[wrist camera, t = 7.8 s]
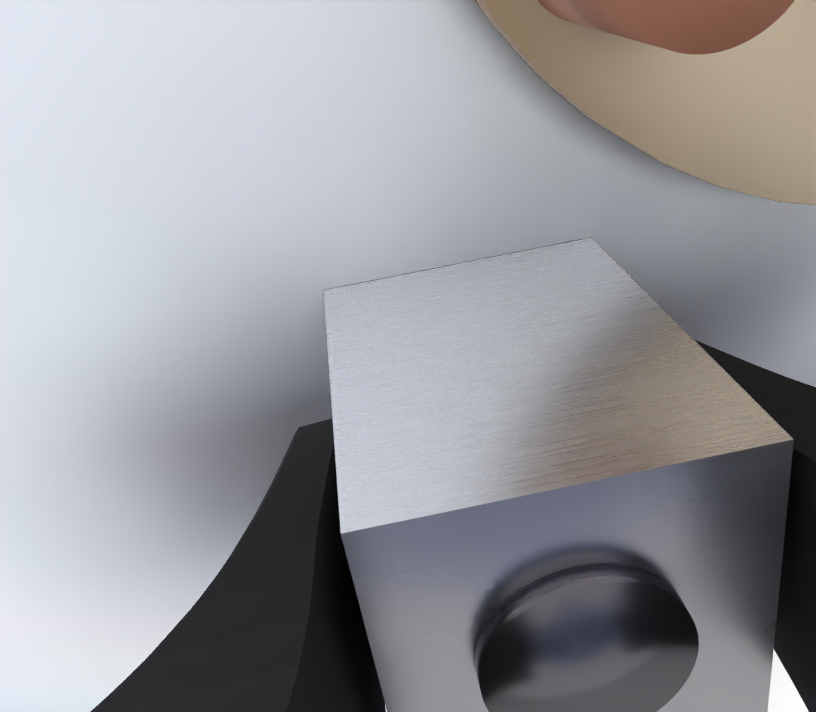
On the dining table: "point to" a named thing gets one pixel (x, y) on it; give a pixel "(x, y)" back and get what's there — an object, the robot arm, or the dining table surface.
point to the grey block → (552, 493)
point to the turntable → (686, 81)
